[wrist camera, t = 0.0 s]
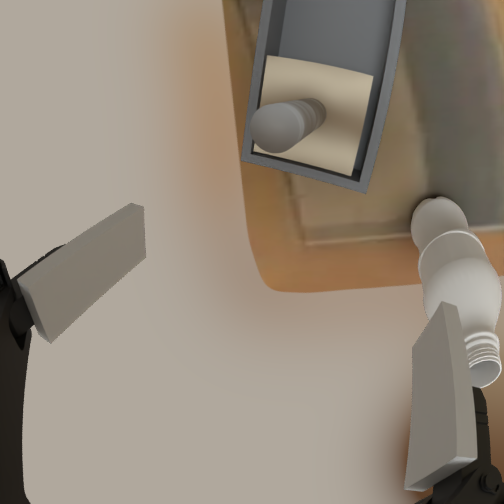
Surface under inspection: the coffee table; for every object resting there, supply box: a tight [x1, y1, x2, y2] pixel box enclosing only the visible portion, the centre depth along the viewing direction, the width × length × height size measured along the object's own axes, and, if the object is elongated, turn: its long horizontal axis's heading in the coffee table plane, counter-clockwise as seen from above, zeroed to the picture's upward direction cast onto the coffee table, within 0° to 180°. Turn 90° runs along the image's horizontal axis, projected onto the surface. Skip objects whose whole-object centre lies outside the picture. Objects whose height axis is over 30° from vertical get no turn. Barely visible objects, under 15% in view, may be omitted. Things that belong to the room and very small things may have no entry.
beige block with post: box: [250, 55, 373, 176], centre depth 25 cm, size 10×10×19 cm
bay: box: [241, 0, 406, 194], centre depth 27 cm, size 30×14×6 cm, turn 172°
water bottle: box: [411, 196, 502, 388], centre depth 25 cm, size 7×7×25 cm
